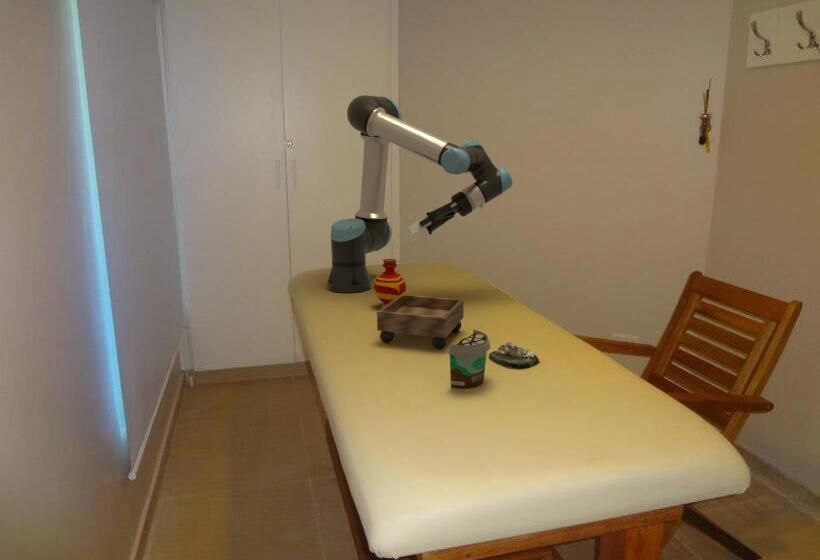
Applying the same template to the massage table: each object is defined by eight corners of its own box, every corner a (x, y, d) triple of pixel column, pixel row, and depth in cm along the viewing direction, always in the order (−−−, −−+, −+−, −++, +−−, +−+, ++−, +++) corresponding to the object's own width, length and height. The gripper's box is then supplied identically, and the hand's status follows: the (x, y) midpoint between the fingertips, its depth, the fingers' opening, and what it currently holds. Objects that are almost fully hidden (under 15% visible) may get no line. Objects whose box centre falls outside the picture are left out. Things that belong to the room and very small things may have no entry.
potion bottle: (408, 303, 191) (408, 257, 187) (404, 312, 181) (404, 263, 177) (375, 302, 192) (374, 256, 188) (370, 311, 182) (369, 263, 178)
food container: (473, 396, 123) (475, 350, 121) (447, 389, 126) (448, 344, 124) (498, 376, 133) (500, 333, 131) (473, 370, 137) (474, 328, 134)
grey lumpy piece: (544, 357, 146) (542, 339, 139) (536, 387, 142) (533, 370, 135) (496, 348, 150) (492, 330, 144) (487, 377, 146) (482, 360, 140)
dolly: (377, 343, 154) (377, 311, 152) (401, 323, 170) (401, 294, 168) (445, 352, 148) (445, 318, 146) (463, 330, 165) (463, 299, 163)
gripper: (479, 200, 177) (418, 237, 175) (468, 219, 202) (415, 252, 200) (465, 179, 178) (404, 216, 176) (456, 201, 202) (403, 233, 200)
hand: (410, 235), depth 188 cm, fingers open, 13 cm apart
